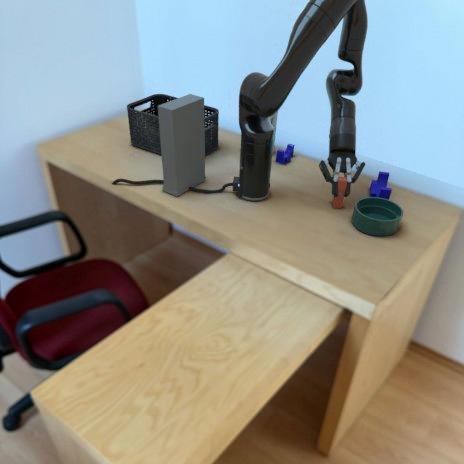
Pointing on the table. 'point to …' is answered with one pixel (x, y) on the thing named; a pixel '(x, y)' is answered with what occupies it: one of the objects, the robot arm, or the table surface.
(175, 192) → the tall grey upright pillar
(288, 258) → the table surface
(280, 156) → the cable holder
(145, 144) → the storage bin
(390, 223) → the bowl
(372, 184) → the cable clip
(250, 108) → the robot arm
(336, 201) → the clothespin
